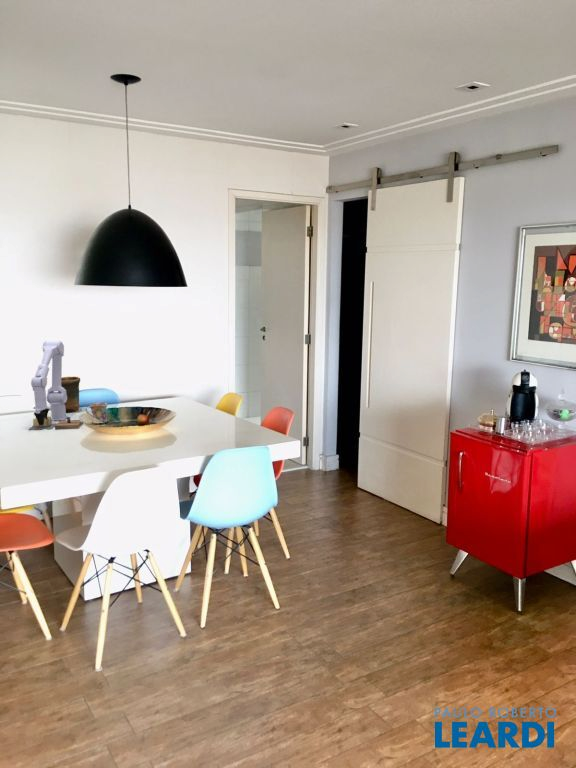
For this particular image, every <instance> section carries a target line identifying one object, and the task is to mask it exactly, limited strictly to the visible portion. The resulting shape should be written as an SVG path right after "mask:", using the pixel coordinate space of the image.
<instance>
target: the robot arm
mask: <svg viewBox="0 0 576 768" xmlns="http://www.w3.org/2000/svg"><path fill="white" fill-rule="evenodd" d="M42 353H43V356H42V360H41V364H39V365H38V366H37V370H36V373H35V376H34V377H32V378H31V380H30V381H31V382H30V384H31V387H32V391H33V392H34V393H33V395H34V404H35V406H34V407H32V409H33V410H35V411H34V412H33V415H34V417H35V418H37V421H38V424H39V425H43V424H44V417H48V413H49V411H50V413H51V421H52V422H53V421H66V420H67V417H69V416H68V415H67V414H66V407H65V404H64V403H65V402H66V401H67V394H66V390H65V389H64V388H63V387H62V386H61V378H62V374H63V372H62V371H63V370H62V366H63V365H62V364H63V363H62V362H63V360H62V359H63V357H64V356H65V355H64V354H65V346H64V344H63V342H62V341H60V340H59V341H46V340H45V341H44V342H43V343H42ZM51 361H52V362H51ZM50 363H52V364H51V366H52V367H51V387H49V389H47V391H46V387H47V384H48V374H49V371H50V368H49V365H50ZM58 391H60V392H58ZM47 403H48V404H49V405H50V408H48V404H47Z"/></svg>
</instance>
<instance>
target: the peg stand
mask: <svg viewBox="0 0 576 768" xmlns="http://www.w3.org/2000/svg"><path fill="white" fill-rule="evenodd" d="M80 420H81V419H71V417H70V416H68V417H67V418H66V419H65V420H58V422H57V424H56V425H55V427H54V429H55V431H57V430H75V429H76V430H78V429H79V428H80V427H81V426H82V425H83V424H84V422H83V423H82V422H81V421H80Z"/></svg>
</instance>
